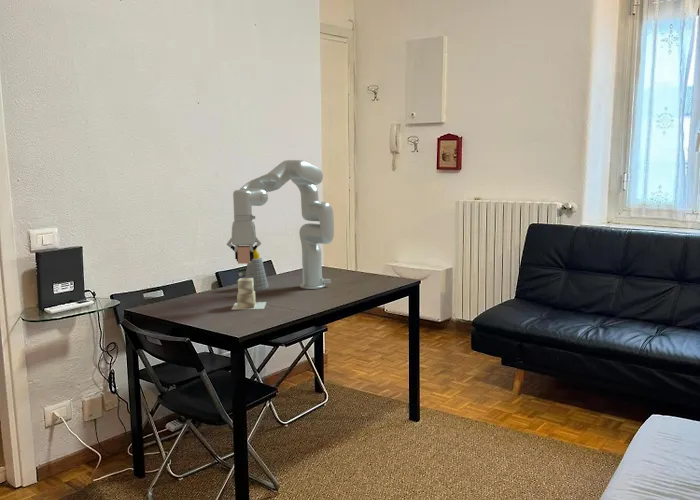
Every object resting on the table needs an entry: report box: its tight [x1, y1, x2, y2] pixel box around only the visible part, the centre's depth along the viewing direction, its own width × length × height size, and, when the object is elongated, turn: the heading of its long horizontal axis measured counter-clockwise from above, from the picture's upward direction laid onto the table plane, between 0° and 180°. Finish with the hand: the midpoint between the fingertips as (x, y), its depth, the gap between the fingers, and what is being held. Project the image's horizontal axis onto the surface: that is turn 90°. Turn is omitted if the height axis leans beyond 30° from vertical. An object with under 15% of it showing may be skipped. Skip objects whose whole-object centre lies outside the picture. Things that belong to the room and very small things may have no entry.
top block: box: [237, 245, 251, 265], centre depth 276 cm, size 5×5×7 cm
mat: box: [231, 301, 267, 311], centre depth 281 cm, size 14×12×1 cm
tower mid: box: [237, 277, 254, 295], centre depth 279 cm, size 6×6×6 cm
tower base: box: [236, 291, 257, 308], centre depth 279 cm, size 7×7×6 cm
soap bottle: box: [244, 247, 269, 292], centre depth 317 cm, size 12×12×20 cm
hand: (244, 260), depth 277 cm, fingers closed on top block, 5 cm apart
